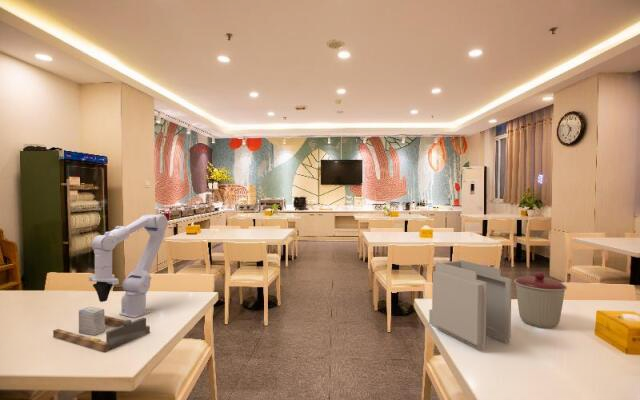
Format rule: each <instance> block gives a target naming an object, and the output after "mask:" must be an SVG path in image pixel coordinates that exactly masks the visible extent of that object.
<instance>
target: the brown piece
mask: <svg viewBox="0 0 640 400" xmlns="http://www.w3.org/2000/svg"><path fill="white" fill-rule="evenodd" d="M104 317H105V325H107V326H112V327H115V328H112V329H110V330H107V331H106V332H105V333H106V337H105V338H106V339H105V340H106V341H103V340H101V339H99V338H96V337H90V336H89V337H88V336H85V335H81V334H79V333H74V332H70V331H68V330H65V329H61V328H57V329H53V333H52V334H53V335H52V336H53V338H55V339H58V340H62V341H65V342H67V343H72V344H75V345H78V346H82V347H85V348H88V349H92V350H95V351H98V352H102V353H106V352H109V351H111V350H114V349H117V348H118V347H120V346H122V345H124V344H128V343H129V342H132V341H134V340H136V339H139V338H141V337H144V336H146V335H148V334H150V332H151V331H150V330H151V329H150V328H151V327H150V325H147V318H146V317H142V318H141V317H140V318H139V319H135V320H134V321H132V319H125V320H124V319H122V318H121V319H120V318H117V317H112V316H108V315H104Z"/></svg>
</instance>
